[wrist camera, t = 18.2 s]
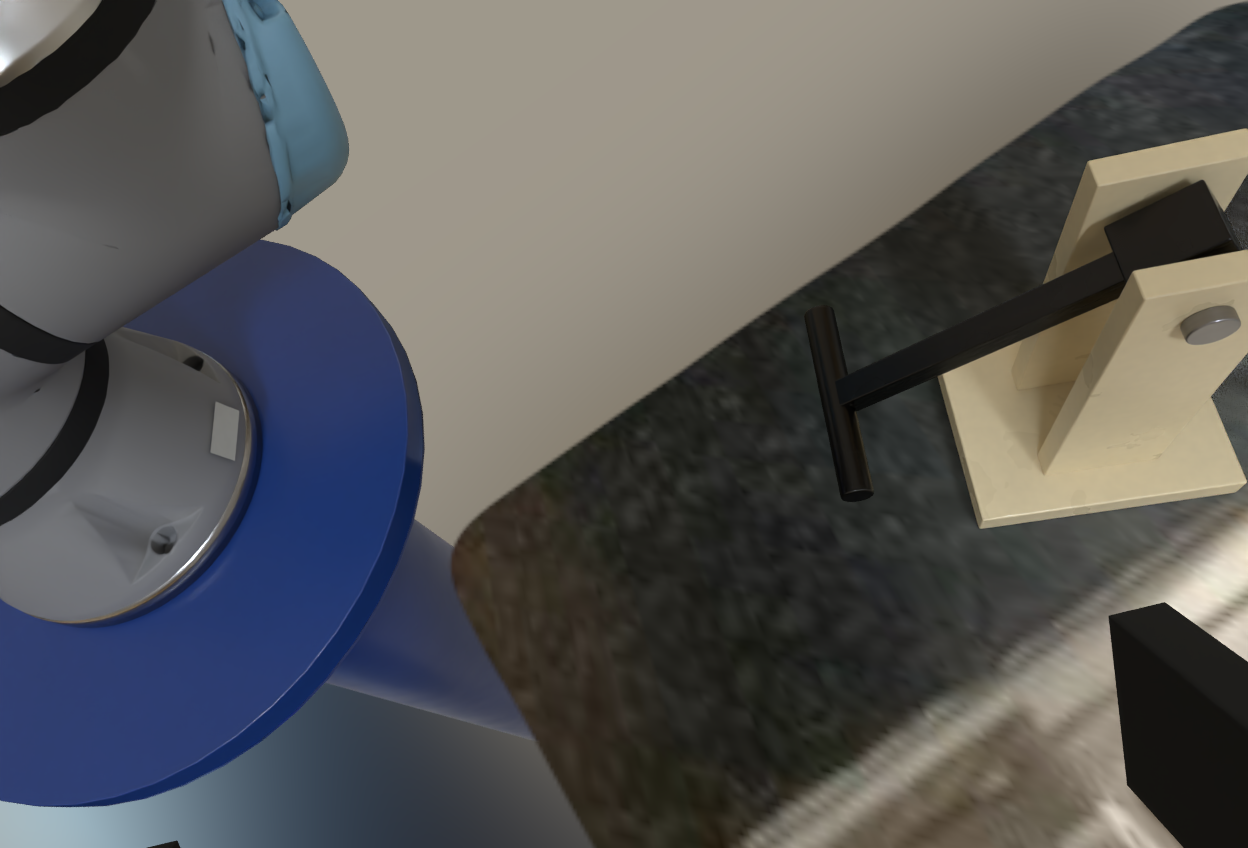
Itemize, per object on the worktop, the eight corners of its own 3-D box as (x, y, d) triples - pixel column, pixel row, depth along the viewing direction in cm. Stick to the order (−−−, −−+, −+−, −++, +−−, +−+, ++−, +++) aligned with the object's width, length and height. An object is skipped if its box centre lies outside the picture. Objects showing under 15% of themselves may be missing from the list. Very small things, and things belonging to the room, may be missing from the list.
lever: (861, 507, 33) (825, 495, 31) (822, 328, 36) (789, 309, 35) (1294, 356, 24) (1275, 328, 23) (1190, 140, 28) (1167, 103, 26)
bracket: (978, 529, 37) (1052, 365, 24) (934, 365, 40) (977, 143, 27) (1236, 492, 35) (1469, 294, 22) (1166, 324, 39) (1331, 67, 26)
